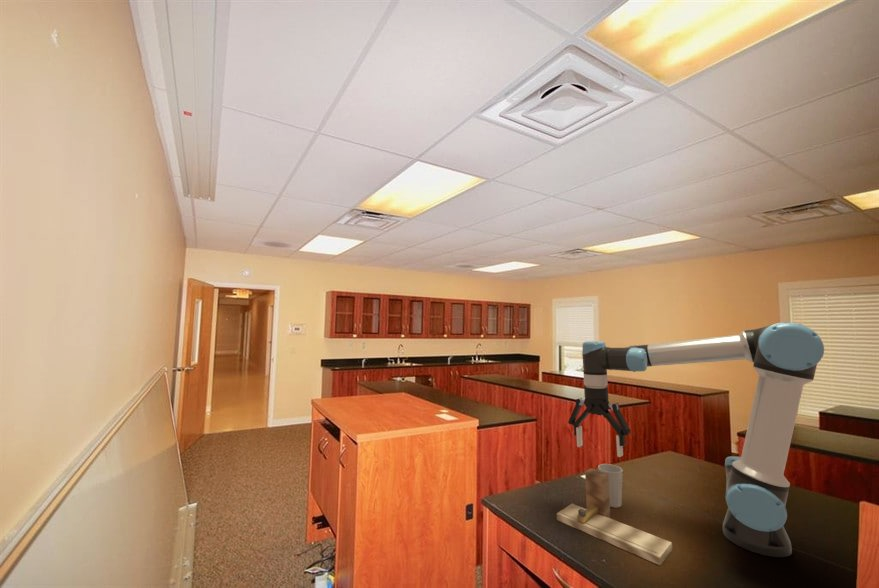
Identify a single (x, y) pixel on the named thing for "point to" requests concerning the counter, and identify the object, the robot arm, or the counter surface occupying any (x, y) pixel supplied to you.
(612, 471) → the cup
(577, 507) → the board
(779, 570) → the counter surface
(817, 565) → the counter surface
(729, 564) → the counter surface
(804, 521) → the counter surface
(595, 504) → the gauge
